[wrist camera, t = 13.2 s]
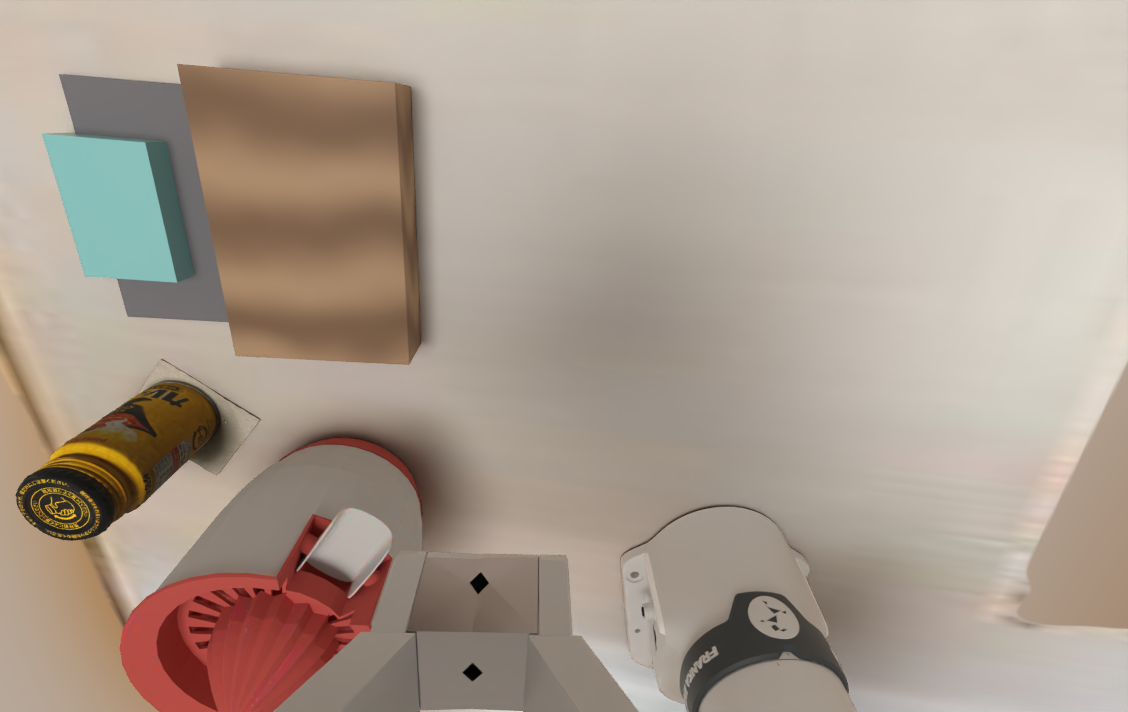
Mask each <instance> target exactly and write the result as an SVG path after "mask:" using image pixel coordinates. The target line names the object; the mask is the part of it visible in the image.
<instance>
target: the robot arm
mask: <svg viewBox="0 0 1128 712" xmlns="http://www.w3.org/2000/svg"><path fill="white" fill-rule="evenodd" d="M620 566H621V576H622V587H623V597H624V607H625V617H626V628H627V638H628V647H629V652H630V656H631V659H632V660H633V661H635V662H636V663H638V664H641V665H643V666H646V667H649V668H652V669H654V670H655V675H656V679H657V684H658V687H659V690H660V691H661V693H662V694H663V695H665V696H666V697H667V698H669V699H671V700H673V701H676V702H678V703H682V704H685V707H686V710H687V712H858V711H857V709H856V708H855V706H854V704H853V702H852V700H851V698H850V697H849V695H848V693H849V688H848V683H847V680H846V677H845V675H844V673H843V671H842V667H841V664H840V663H839V660H838V658H837V656H836V654H835V653H834V651H833V650H832V649H831V648H830V646H829V644H828V643H827V641H826V637H827V636H828V627H827V624H826V622H825V620H824V617H823V615H822V613H821V611H820V609H819V606H818V604H817V602H816V600H815V598H814V595H813V593H812V591H811V589H810V587H809V585H808V582H807V580H806V577H807V576H808V574H809V572H810V568H809V565H808V563H807V561H806V559H805V558H804V557H803V556H802V555H801V554H800V553H798V552H797V551H795V550H794V549H792V548H790V546H789V545H788V544H787V542H786V540H785V538H784V536H783V534H782V532H781V530H780V529H779V528H778V527H777V526H776V524H775V523H773V522H772V521H771V520H770V519H768V518H767V517H765V516H764V515H762V514H760V513H757V512H755V511H752V510H748V509H744V508H738V507H714V508H708V509H703V510H699V511H696V512H693V513H690V514H688V515H685V516H683V517H681V518H679V519H677V520H675V521H674V522H672V523H671V524H669V525H668V526H666V527H665V528H664V529H663V530H662V531H661V532H659V533H658V534H657V535H656V536H655V537H654V538H653V539H652V540H650V541H649V542H648V543H646V544H643V545H641V546H639V547H636V548H634V549H632V550H630V551H628V552H626V553H625V554H624V555H623V556H622V557H621V560H620ZM445 709H487V710H514V711H523V712H638V710H637V709H636V708H635V706H634V705H633V704H632V702H631V701H630V700H629V698H628V697H627V696H626V694H625V693H624V692H623V690H622V689H621V688H620V687H619V685H618V684H617V683H616V681H615V680H614V679H613V677H612V676H611V675H610V673H609V672H608V671H607V669H606V668H605V667H604V665H603V664H602V663H601V661H600V660H599V659H598V658H597V656H596V655H595V654H594V652H593V651H592V650H591V648H590V647H589V646H588V644H587V643H586V642H585V640H584V639H583V638H582V636H573V635H572V619H571V603H570V587H569V571H568V559H567V557H566V555H539V556H538V555H523V554H468V553H450V552H431V551H429V552H420V551H402V550H400V551H399V553H398V554H397V556H396V557H395V559H394V562H393V565H392V568H391V571H390V574H389V577H388V580H387V583H386V586H385V589H384V592H383V595H382V598H381V601H380V604H379V607H378V610H377V613H376V616H375V619H374V622H373V625H372V628H371V631H370V632H360V633H359V634H358V635H357V636H356V637H355V638H354V639H353V640H352V641H351V642H349V643H348V644H347V645H346V646H345V647H344V648H343V649H342V650H341V651H339V652H338V653H337V654H336V655H335V656H334V657H333V658H332V659H331V660H329V661H328V662H327V663H326V664H325V665H324V666H323V667H322V668H321V669H320V670H318V671H317V672H316V673H315V674H314V675H313V676H312V677H311V678H310V679H308V680H307V681H306V682H305V683H304V684H303V685H302V686H301V687H300V688H299V689H297V690H296V691H295V692H294V693H293V694H292V695H291V696H290V697H289V698H287V699H286V700H285V701H284V702H283V703H282V704H281V705H280V706H279V707H278V708H276V709H275V710H274V711H273V712H420V710H445Z"/></svg>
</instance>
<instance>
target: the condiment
mask: <svg viewBox="0 0 1128 712" xmlns="http://www.w3.org/2000/svg"><path fill="white" fill-rule="evenodd" d="M222 417H223V418H224V419H222ZM225 421H226V422H227V424H225ZM259 421H260V420H259V419H258V418H256V417H254V416H252V415H250V414H249V413H247V412H246V411H245V410H243V409H241V408H239V407H237V406H236V405H234V404H233V403H231V402H230V401H228V400H226V399H224V398H223V397H222V396H220V395H218V394H217V393H215V392H214V391H213V390H211V389H210V388H208V387H207V386H205V385H203V384H202V383H200V382H198V381H196V380H195V379H194V378H192V377H190V376H189V375H187V374H186V373H184V372H182V371H180V370H178V369H177V368H176V367H174V366H172V365H171V364H169V363H167V362H165V361H162V360H159V362H158V364H157V365H156V367H155V368H154V370H153V372H152V373H151V374H150V376H149V378H148V379H147V381H146V382H145V384H144V386H143V387H142V389H141V390H140V392H139V393H138V395H137V396H135V397H134V398H131V399H130V400H129V401H127V402H126V403H124V404H123V405H121V406H120V407H119V408H117V409H116V410H114V411H113V412H111V413H109V414H108V415H106V416H105V417H103V418H102V419H101V420H99V421H98V422H97V423H95V424H94V425H92V426H91V427H89V428H88V429H86V430H85V431H84V432H82V433H80V434H79V435H78V436H76V437H75V438H72V439H71V440H69V441H67V442H66V443H65V444H64V445H63V446H61V447H60V448H58V449H57V450H56V451H55V452H54V453H53V454H52V455H51V458H50V459H49V462H47V463H46V464H45V465H44V466H42V467H41V468H40V469H39V470H38V471H36V472H35V473H33V474H31V475H29V476H27V478H25V479H24V481H23V482H22V484H21V485H20V486H19V488H18V491H17V493H16V497H17V506H18V508H19V509H20V512H21V513H22V514H23V516H24V517H25V519H26V520H27V521H28V522H29V523H30V524H32V525H33V526H34V527H37V528H38V529H39V530H40V531H42V532H43V533H45V534H47V535H50V536H52V537H55V538H59V539H62V540H71V541H72V540H82V539H87V538H90V537H94V536H97V535H99V534H100V533H102V532H104V531H106V530H107V528H108V527H109V526H110V524H112V523H113V522H114V521H116V520H118V519H119V518H120V517H122V516H123V515H124V514H125V513H129V512H131V511H133V510H135V509H137V508H138V507H139V506H140V505H141V504H143V503H144V502H145V501H146V500H147V499H148V498H149V497H150V496H151V495H152V494H153V493H154V492H155V491H156V490H157V489H158V488H159V487H161V485H162V484H164V483H165V482H166V481H167V480H168V479H169V478H170V477H171V476H172V475H173V474H174V473H175V472H176V471H177V470H178V469H179V468H180V467H181V466H182V465H184V464H185V463H186V462H187V461H188V460H191V461H193V462H195V463H197V464H198V465H200V466H201V467H203V468H204V469H205V470H207V471H209V472H211V473H213V474H215V475H218V474H219V472H220V471H221V469H222V468H223V467H224V466H225V465H226V463H227V462H228V461H229V459H230V458H231V457H232V456H233V454H234V453H235V452H236V450H237V449H238V448H239V447H240V445H241V444H242V443H243V442H244V440H245V439H246V437H247V436H248V435H249V434H250V432H251V431H252V430H253V428H254V427H255V426H256V425H257V423H258V422H259Z"/></svg>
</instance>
